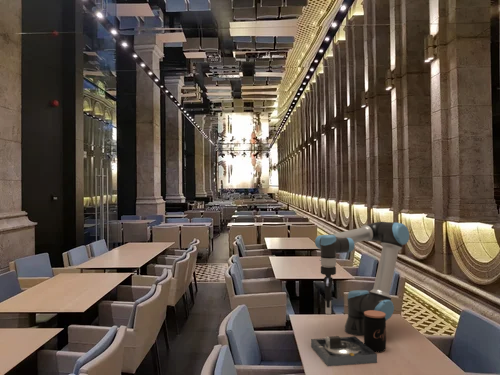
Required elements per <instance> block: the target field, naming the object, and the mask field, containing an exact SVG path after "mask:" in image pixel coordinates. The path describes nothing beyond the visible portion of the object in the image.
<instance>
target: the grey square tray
mask: <svg viewBox="0 0 500 375" xmlns="http://www.w3.org/2000/svg"><path fill="white" fill-rule="evenodd" d="M339 337H340V338H341V341H347V342H352V343H355V344H357V345H358V346H359V347H360V353H359V354H353V353H349V354H345V355H333V354H330V353H328V352H327V351H326V350H325V344H326V337H324V338H323V337H322V338H311V340H310V347H311V348H312V349H313V351H314V352H315V353H316V354H317V355H318V357H319V358H320V359H321V360H322V362H323V363H324V364H325V365H326V366H327V367H336V366H337V367H339V366H348V365H349V366H351V365H361V364H362V365H365V364H377V363H378V354H377V352H374V351H373V350H371V349H370V348H369V347H368V346H367V345H365V344H364V341H362V340H360V339H359V338H358V337H357V336H356V335H353V336H339Z"/></svg>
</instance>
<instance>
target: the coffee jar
mask: <svg viewBox="0 0 500 375" xmlns="http://www.w3.org/2000/svg"><path fill="white" fill-rule="evenodd" d="M364 315H365V316H364V336H363V343H364V344H365V345H367V346H368V347H369V348H370V349H371V350H373V351H374V352H375V353H384V352H385V351H386V349H387V330H386V328H387V326H386V325H387V320H386V318H385V316H386V314H385V313H384V312H381V311H375V310H369V311H365V312H364Z"/></svg>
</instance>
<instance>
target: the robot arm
mask: <svg viewBox="0 0 500 375" xmlns="http://www.w3.org/2000/svg"><path fill="white" fill-rule="evenodd" d="M409 240H410V230H409V229H408V226H406V225H405V224H404V223H402V222H397V221H396V222H391V221H376V222H371V223H367V224H363V225H362V226H361V227H359V228H353V229H349V230H345V231H342V232H337V233H333V234H323V235H321V234H320V235H318V236H316V237H315V239H314V244H315V247H316V248H317V249H319V250H320V259H319V261H320V274H321V275H323V276H324V278H323V282H324V297H325V298H324V299H323V301H324V302H325V303H324V304H325V314H326V315H332V301H333V300H334V299H333V298H332V287H333V280H334V278H333V276H335V275H336V274H337V267H336V266H337V254H344V253H346V254H347V253H352V252H353V251H354V250H355V245H356V244H355V243H360V242H364V241H365V242H373V241H374V242H380V245H381V246H382V248H381V252H380V257H379V262H378V265H377V271H376V275H375V280H374V284H373V288H372V289H371V290H370V291H369V290H366V289H358V290H356V289H355V290H350V291H348V294H347V319H346V322H345V325H344V332H346V333H347V334H350V335H353V336H360V337H364V316H365V315H364V312H365V311H369V310H375V311H381V312H384V313H385V314H386V316H385V318H386V321H389V320H390V319H391V317H392V316H393V315H394V314H393V313H394V310H395V306H394V303H393V301H392V296H391V295H390V292H391V291H390V290H391V287H392V283H393V277H394V274H395V268H396V264H397V260H398V255H399V251H400V250H402V249H403V246H404V245H407V243H408V242H409Z"/></svg>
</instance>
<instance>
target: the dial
mask: <svg viewBox="0 0 500 375" xmlns="http://www.w3.org/2000/svg"><path fill="white" fill-rule="evenodd" d="M340 337H341V336H340V335H336V336H328V335H327V336H325V338H326V344H325V350H326V351H327V352H328V353H330V354H333V355H345V354H349V353H353V354H359V353H360V347H359V346H358V345H357V344H355V343H352V342H347V341H341V338H340Z"/></svg>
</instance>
